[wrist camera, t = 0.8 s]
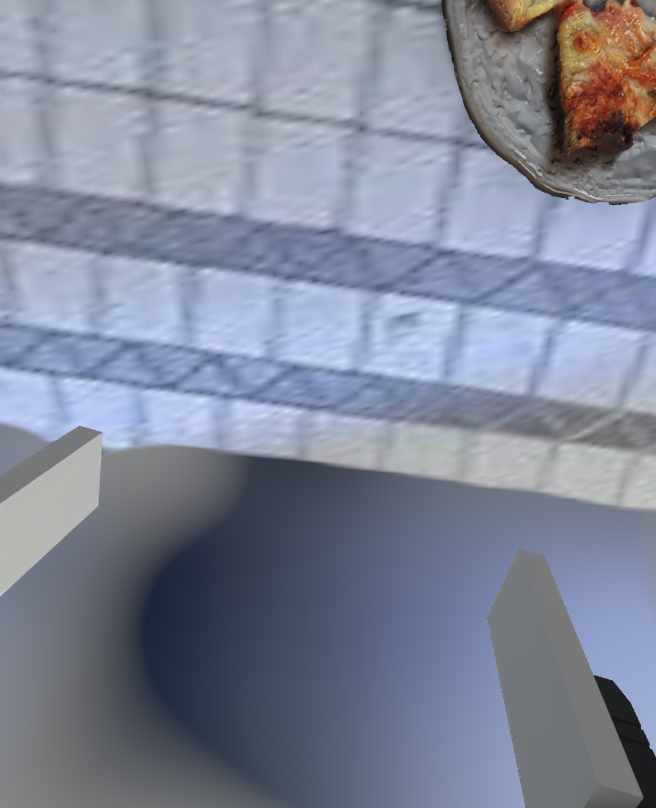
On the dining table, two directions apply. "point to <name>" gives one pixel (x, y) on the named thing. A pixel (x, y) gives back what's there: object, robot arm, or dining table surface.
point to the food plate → (562, 91)
